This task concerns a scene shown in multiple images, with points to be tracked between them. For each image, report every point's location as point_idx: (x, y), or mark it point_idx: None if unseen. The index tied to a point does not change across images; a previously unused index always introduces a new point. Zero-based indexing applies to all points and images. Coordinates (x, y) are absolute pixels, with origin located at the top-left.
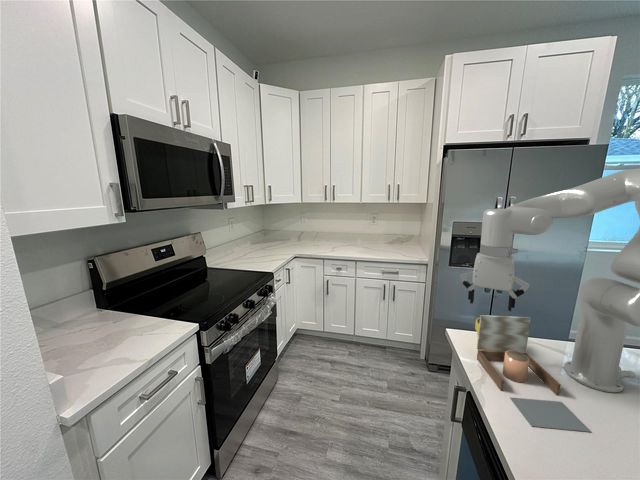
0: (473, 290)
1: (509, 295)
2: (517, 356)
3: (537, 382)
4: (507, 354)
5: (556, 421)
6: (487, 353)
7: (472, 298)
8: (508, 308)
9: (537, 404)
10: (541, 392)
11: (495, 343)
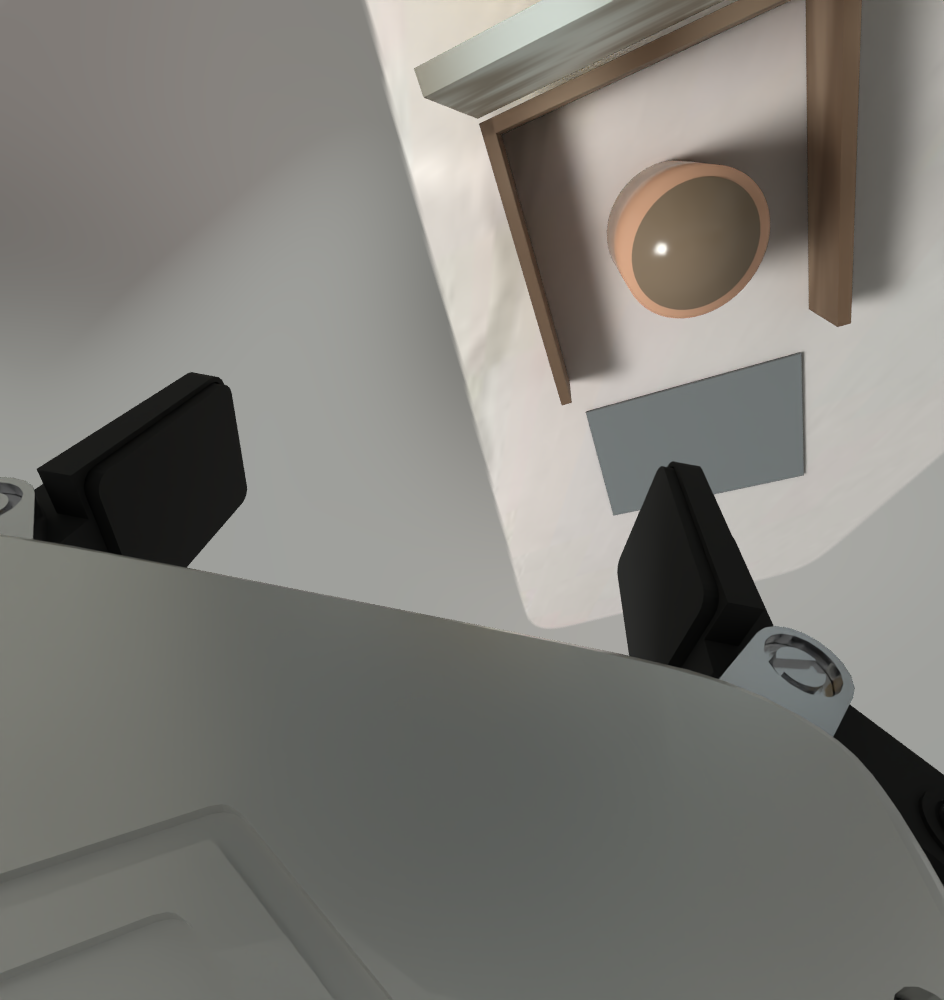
0: (108, 545)
1: (697, 619)
2: (694, 254)
3: (771, 229)
4: (633, 259)
5: (706, 472)
6: (543, 111)
7: (202, 537)
8: (620, 588)
9: (681, 411)
10: (744, 315)
11: (602, 52)
